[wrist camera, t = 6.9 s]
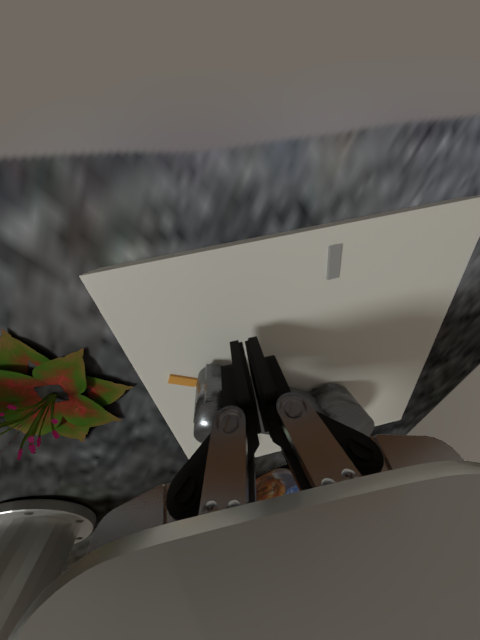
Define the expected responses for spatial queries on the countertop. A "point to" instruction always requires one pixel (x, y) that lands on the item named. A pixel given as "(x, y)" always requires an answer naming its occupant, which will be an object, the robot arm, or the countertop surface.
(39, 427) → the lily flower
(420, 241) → the base
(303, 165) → the countertop surface
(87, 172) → the countertop surface
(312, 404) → the grey knobbed bar
